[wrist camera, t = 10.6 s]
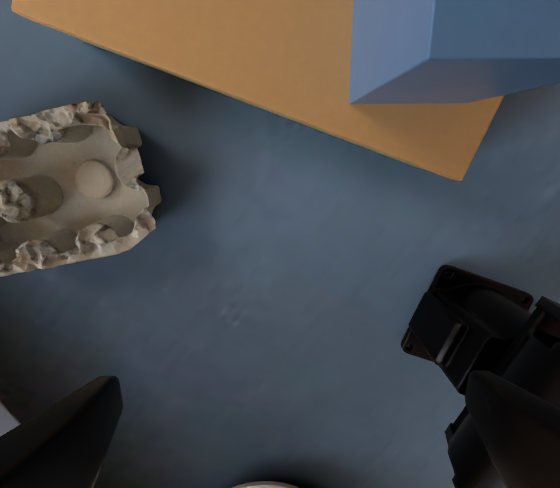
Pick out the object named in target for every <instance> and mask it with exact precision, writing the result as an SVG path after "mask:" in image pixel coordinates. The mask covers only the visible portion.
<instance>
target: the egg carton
mask: <svg viewBox="0 0 560 488" xmlns="http://www.w3.org/2000/svg"><path fill="white" fill-rule="evenodd" d="M141 145H142V140H141V138H140V133H139V131H138V129H137V128H136V127H131V126H124V125H121V124H120V123H118V122H117V121H116V120H114V118H113V117H112V116H111V115H110V114H108V113H106V112H105V110H104V108H103V106H102V104H101V103H100V102H98V101H96V102H95V103H94V104H92V102H90V101H89V102H83V103H79V104H70V105H66V106H63V107H58V108H52V109H48V110H44V111H41V112H38V113H36V114H33V115H29V116H23V117H18V118H13V119H10V120H9V121H3V122H0V277H2V276H7V275H11V274H15V273H19V272H24V271H26V272H29V271H32V270H35V269H47V268H52V267H56V266H60V265H64V264H69V263H75V262H80V261H84V260H88V259H94V258H100V257H105V256H110V255H115V254H119V253H122V252H125V251H128V250H129V249H131V248H132V247H134V246H135V245H137V244H138V243H139V242H140V241H141V240H142V239H143V238H145V237H146V236H147V235H148V234H149V233H150V232H152V231H153V230H155V229H156V222H155V219H154V218H153V217H152V212H153V209H154V208H155V207H156V206H157V205H158V204H159V203H161V196H160V188H159V187H158V186H157V185H148V184H145V183H143V182H141V181H140V180H139V179H138V177H139V176H141V175H142V174H143V173H144V171H143V166H142V162H141V158H140V155H139V151H138V149H137V148H138V147H140V146H141Z"/></svg>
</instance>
